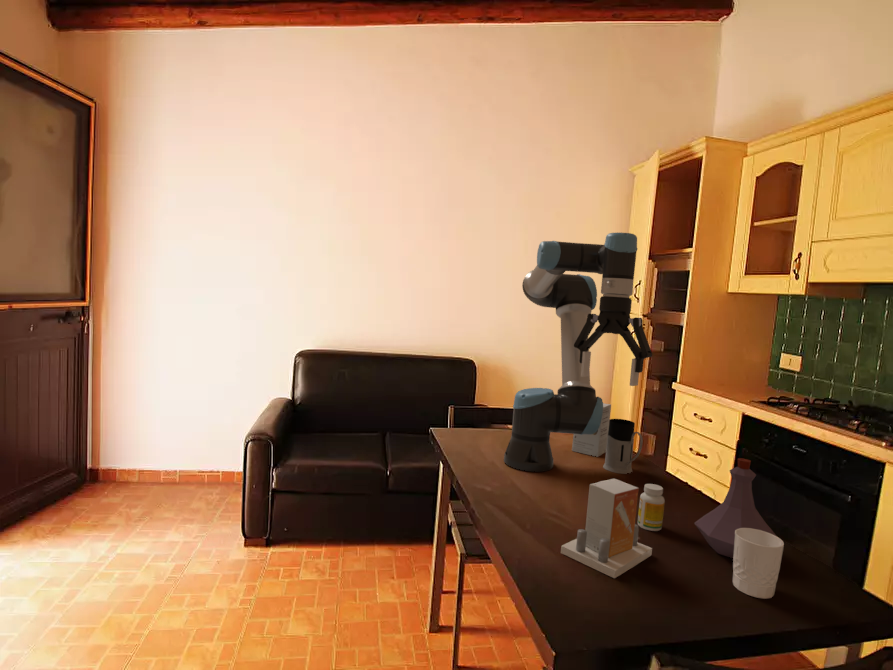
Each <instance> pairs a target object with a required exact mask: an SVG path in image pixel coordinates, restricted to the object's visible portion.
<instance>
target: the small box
mask: <svg viewBox="0 0 893 670" xmlns="http://www.w3.org/2000/svg"><path fill="white" fill-rule="evenodd" d="M588 486H589V489H588V496H587V498H588V499H587V510H586V520H585V529H584V530H586V531H587V537H586V546H587V547H589V548H590V549H592V550H594V551H596V552H598V553H599V545H600V539H607V540H609V541H610V544H609V554H608V558H609V557H611V556H614V555H616V554H619V553H622V552H624V551H627V550H631V549H632V547H633V537H634V528H635V524H636V519H637V516H636V515H637V508H638V500H639V499H638V497H639V491H640V488H639V487H638V486H635V485H632V484H630V483H626V482H625V481H622V480H620V479H617V478H610V479H607V480H600V481H598V482H595V483H594V482H593V483H590V484H589V485H588Z"/></svg>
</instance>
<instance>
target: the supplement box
mask: <svg viewBox="0 0 893 670" xmlns="http://www.w3.org/2000/svg"><path fill="white" fill-rule="evenodd" d="M611 411H612V404H610V403H604V402H603V415H602V420H601V423H600V426H599V429H598V430H597V431H596V432H595V433H594V434H582V435H580V434H572V435H573V437H572V446H571V451H572V452H575V453H580V454H584V455H588V456H591V455H592V456H591V457H595V456H596V457H595V458H598V457H600V456H602V455H603V454H606V446H607V436H608V430H609V420H610V419H611Z"/></svg>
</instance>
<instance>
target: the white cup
mask: <svg viewBox="0 0 893 670" xmlns="http://www.w3.org/2000/svg"><path fill="white" fill-rule="evenodd" d="M775 535H776V534H775ZM775 535H773V534H770V533H768V532H765V531H761V530H757V529H752V528H739V529H736V530H735V539H734V554H733V559H732V561H733V562H732V570H733V572H732V585H733V586H734V587H735V588H736V589H737V590H738V591H739V592H741V593H743V594H745V595H748V596H751V597H754V598H758V599H764V600H765V599H766V600H767V599H772V597H774V596H775V592H776V587H777V582H778V579H779V573H780V570H781V563H782V558H783V552H784V547H785V546H784V545H785V543H784V540H782V539H781V538H780V537H778V536H777V535H776V536H775Z"/></svg>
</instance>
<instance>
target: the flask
mask: <svg viewBox="0 0 893 670" xmlns="http://www.w3.org/2000/svg"><path fill="white" fill-rule="evenodd" d="M751 464H752V460H750V459H748V458H742V457H739V458H737V466H735V467H733V468H731V469H730V470H729V473H730V475H731V478H732V479H731V483H730V487H729V489H728V491H727V492H726V493H727V494H726V495H725V498H724V500H723V502H722V503H720V504H719V505H717V506H716V507H715V508H714V509H713V510H712V509H711V511H709V512H708V513H706V514H704V515H703V516H701V517H700V518H699V519H697V520H695V522H694V525H695V527H696V528H697V530H698V531H699V532H700V533H701V535H702V537H703V538H704V540H705V541H706V543H707V544H708V545H709V547H711V548H712V550H714V551H715V552H716V553H717V554H719V555H722V556H724V557H726V558H727V557H728V558H729V557H730V559H732V558H733V554H734V539H735V530H736V529H739V528H752V529H757V530H761V531H765V532H768V533H770V534H773V535H775V536H777V535H776V533H775V532H774V531H773V529H772V528H771V527H770V526H769V525H768V524H767V523H766V521H765V520H764V518H763V517H762V516H761V514H760V513H759V511H758V509H757V508H756V505H755V499H754V494H753V489H752V487H753V481H754V479H755V477H756V476H757V473H755V472H754V471H753V470H751V467H750V466H751Z"/></svg>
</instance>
